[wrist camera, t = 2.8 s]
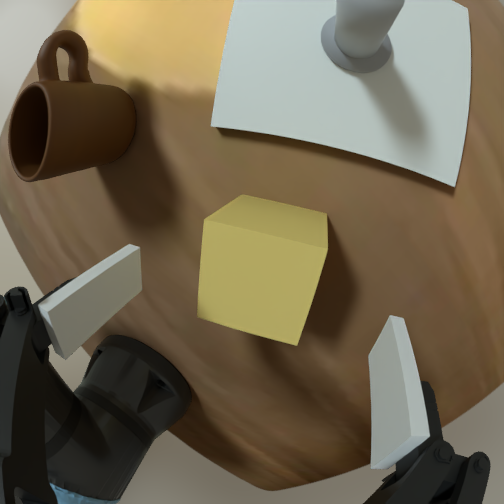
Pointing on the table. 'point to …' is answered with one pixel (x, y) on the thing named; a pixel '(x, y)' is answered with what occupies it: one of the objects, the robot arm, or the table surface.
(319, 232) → the pale yellow cube
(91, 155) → the mug
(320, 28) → the white square plate
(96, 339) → the table surface
